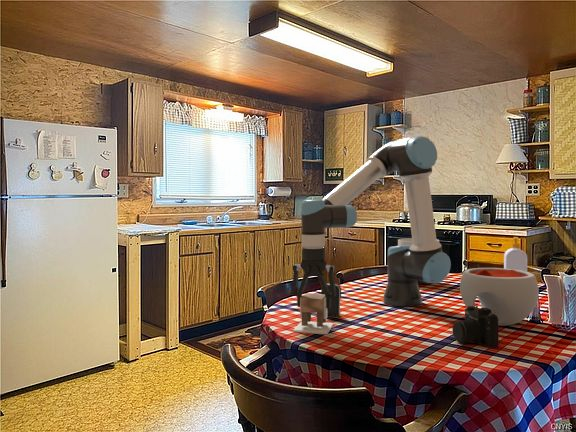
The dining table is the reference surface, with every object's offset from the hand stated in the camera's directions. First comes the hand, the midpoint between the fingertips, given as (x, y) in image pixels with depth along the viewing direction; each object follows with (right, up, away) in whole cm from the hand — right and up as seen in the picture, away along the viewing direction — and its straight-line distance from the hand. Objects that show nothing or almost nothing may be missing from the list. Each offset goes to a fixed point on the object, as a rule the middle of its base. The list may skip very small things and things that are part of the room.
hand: (313, 317), depth 149 cm
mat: (0, -4, 0) cm, 4 cm away
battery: (+7, -3, +17) cm, 19 cm away
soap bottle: (+99, 0, +67) cm, 120 cm away
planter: (+56, 0, +76) cm, 94 cm away
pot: (+62, -3, +5) cm, 63 cm away
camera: (+46, -4, -15) cm, 48 cm away
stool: (0, -2, 0) cm, 2 cm away
